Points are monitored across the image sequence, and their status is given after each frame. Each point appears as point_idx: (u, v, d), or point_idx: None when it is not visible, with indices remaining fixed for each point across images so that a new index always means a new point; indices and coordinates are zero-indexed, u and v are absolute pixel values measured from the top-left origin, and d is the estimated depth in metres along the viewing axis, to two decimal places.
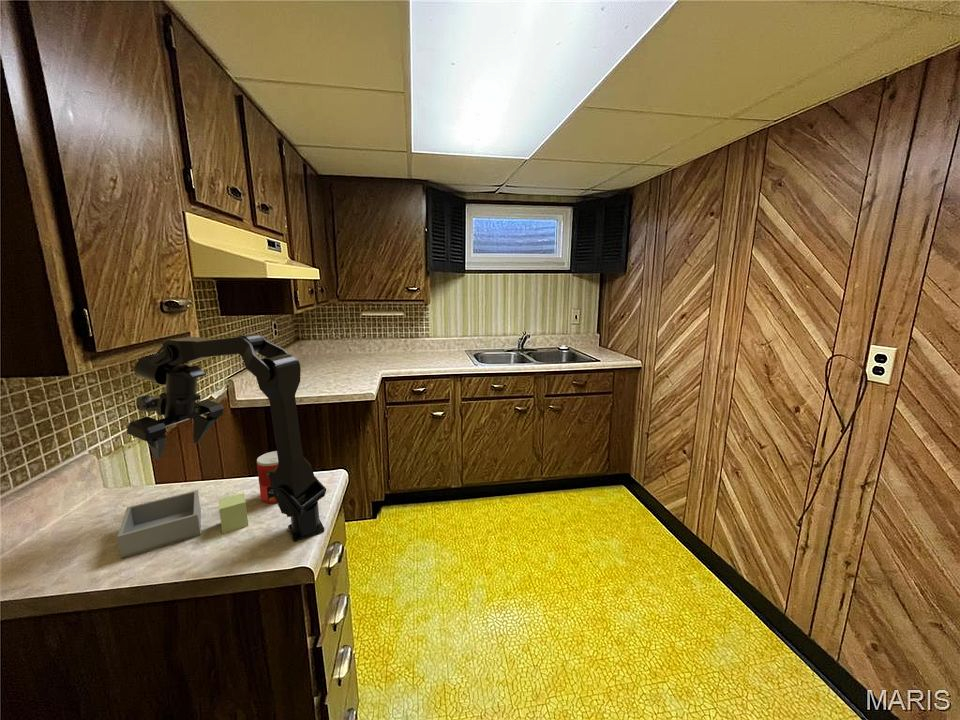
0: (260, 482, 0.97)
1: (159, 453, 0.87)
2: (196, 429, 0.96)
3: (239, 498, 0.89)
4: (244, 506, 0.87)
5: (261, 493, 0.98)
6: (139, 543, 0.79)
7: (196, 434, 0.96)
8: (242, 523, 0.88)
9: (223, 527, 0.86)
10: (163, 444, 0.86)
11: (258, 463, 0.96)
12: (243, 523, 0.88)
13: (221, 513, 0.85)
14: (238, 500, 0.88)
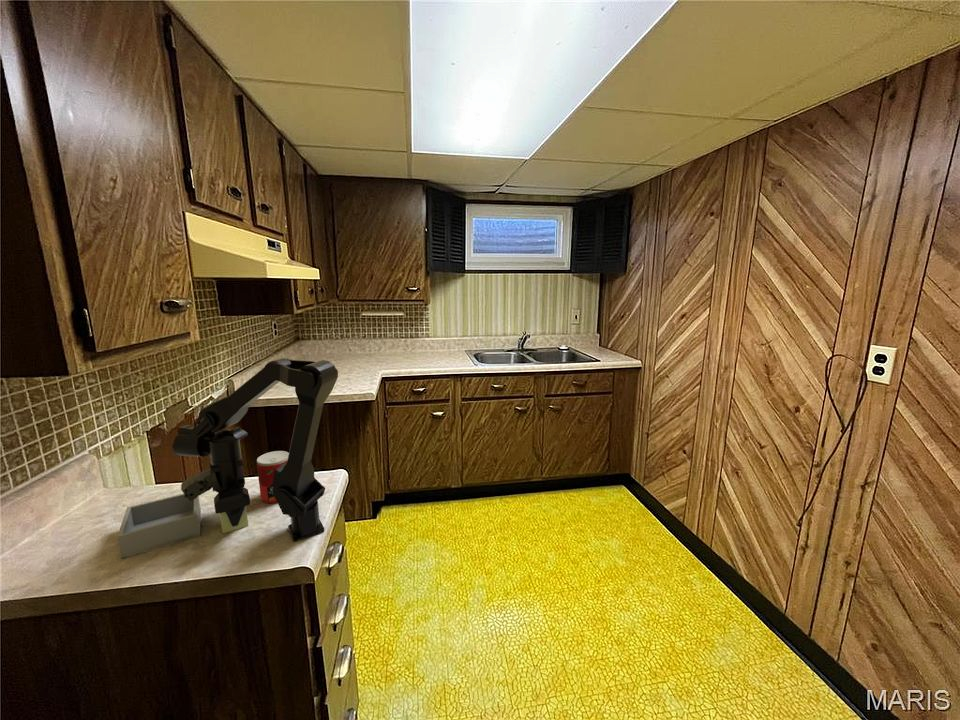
0: (260, 482, 0.97)
1: (240, 517, 0.87)
2: None
3: None
4: None
5: (261, 493, 0.98)
6: (139, 543, 0.79)
7: None
8: (242, 523, 0.88)
9: (223, 527, 0.86)
10: None
11: (258, 463, 0.96)
12: (243, 523, 0.88)
13: (221, 513, 0.85)
14: None
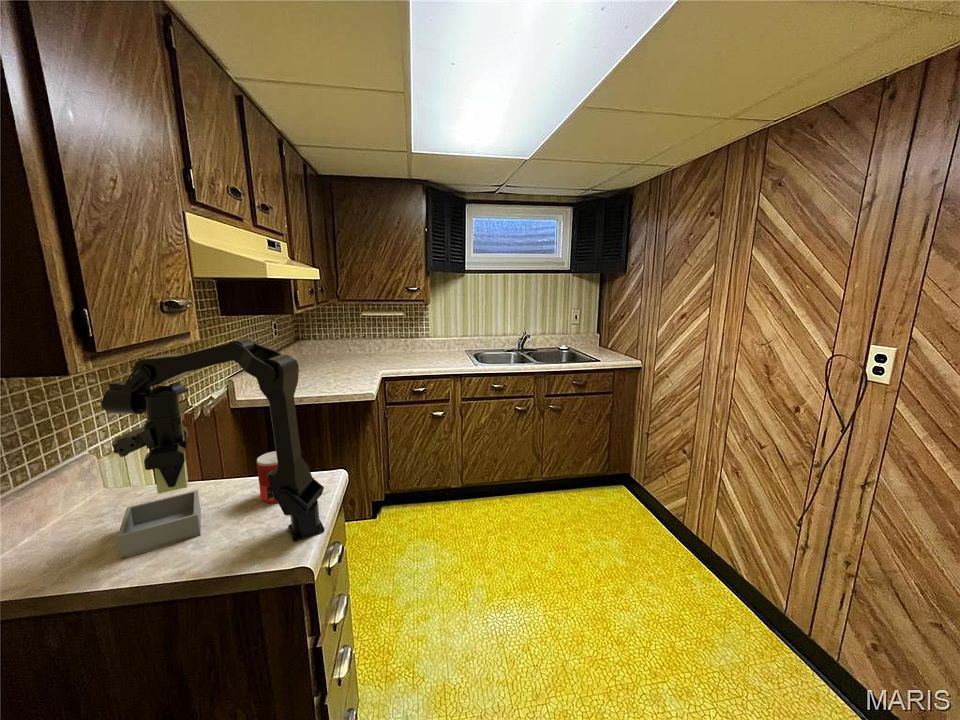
0: (260, 482, 0.97)
1: (177, 478, 0.83)
2: None
3: None
4: (182, 466, 0.84)
5: (261, 493, 0.98)
6: (139, 543, 0.79)
7: None
8: (180, 484, 0.84)
9: (158, 487, 0.82)
10: None
11: (258, 463, 0.96)
12: (181, 484, 0.84)
13: (156, 472, 0.81)
14: None
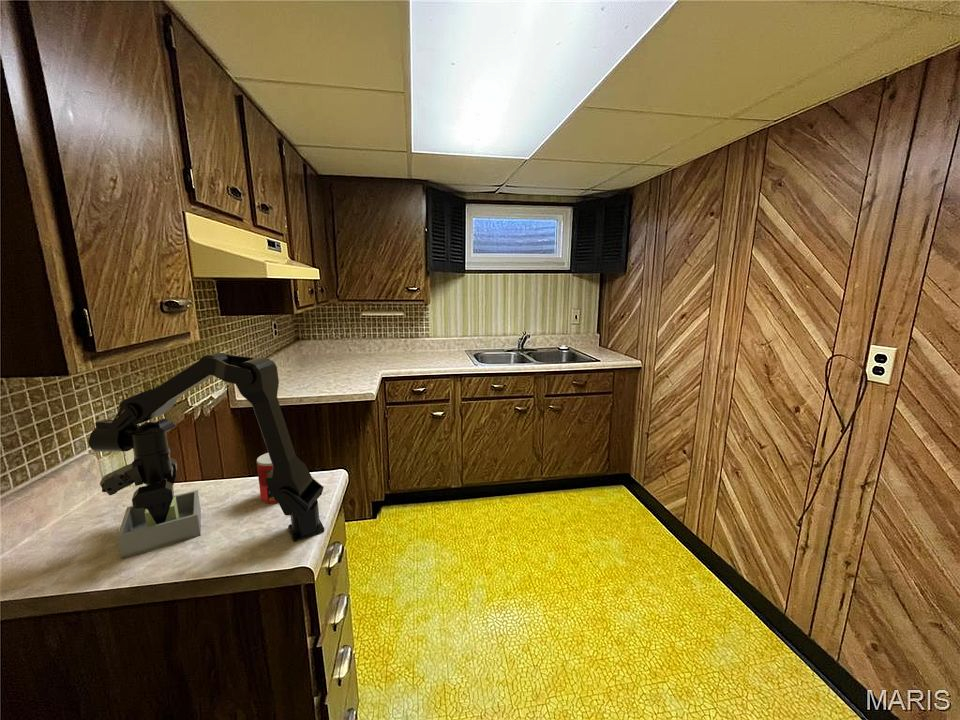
0: (260, 482, 0.97)
1: (166, 516, 0.82)
2: None
3: None
4: (173, 510, 0.85)
5: (261, 493, 0.98)
6: (139, 543, 0.79)
7: None
8: None
9: None
10: None
11: (258, 463, 0.96)
12: None
13: (147, 517, 0.82)
14: None
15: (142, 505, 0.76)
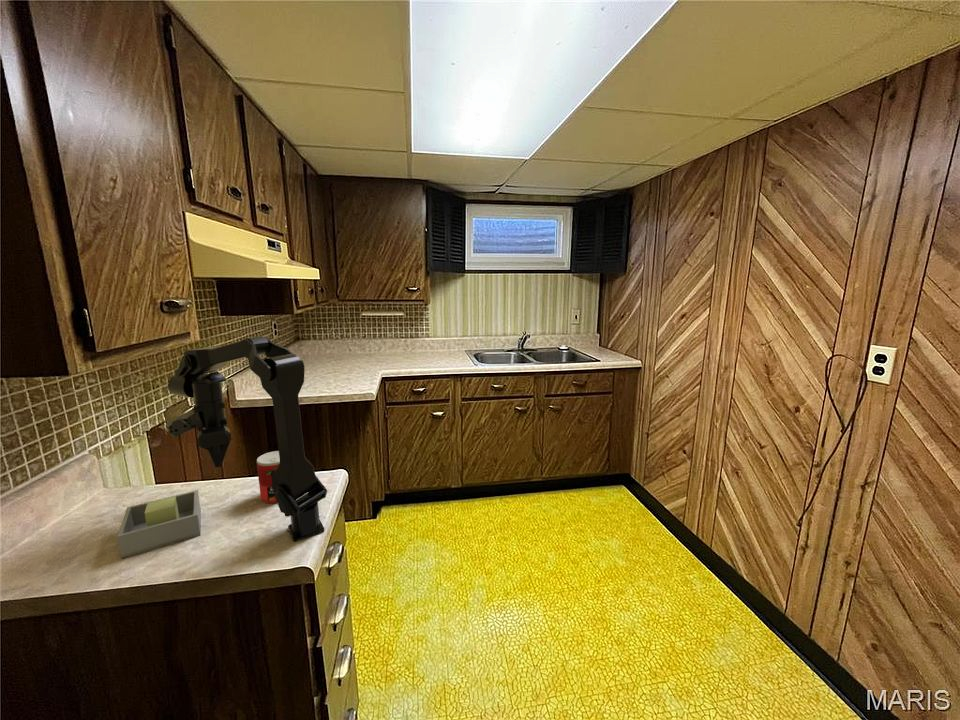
0: (260, 482, 0.97)
1: (223, 458, 0.91)
2: None
3: (169, 502, 0.86)
4: (173, 510, 0.85)
5: (261, 493, 0.98)
6: (139, 543, 0.79)
7: None
8: None
9: None
10: None
11: (258, 463, 0.96)
12: None
13: (147, 517, 0.82)
14: (167, 503, 0.85)
15: (206, 444, 0.85)
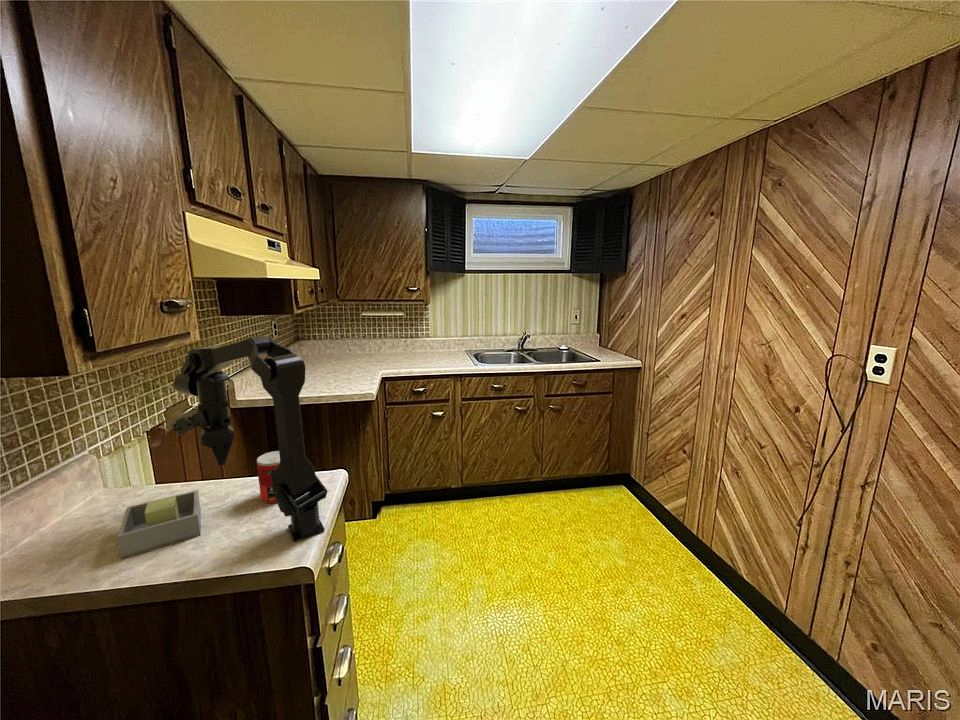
0: (260, 482, 0.97)
1: None
2: None
3: (169, 502, 0.86)
4: (173, 510, 0.85)
5: (261, 493, 0.98)
6: (139, 543, 0.79)
7: None
8: None
9: None
10: None
11: (258, 463, 0.96)
12: None
13: (147, 517, 0.82)
14: (167, 503, 0.85)
15: (209, 442, 0.86)
